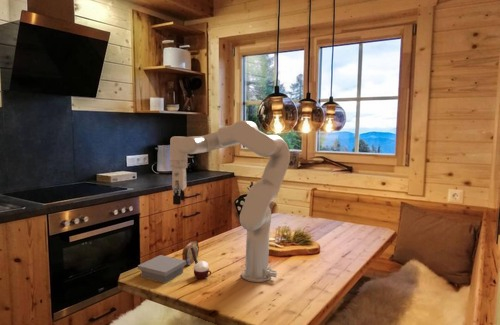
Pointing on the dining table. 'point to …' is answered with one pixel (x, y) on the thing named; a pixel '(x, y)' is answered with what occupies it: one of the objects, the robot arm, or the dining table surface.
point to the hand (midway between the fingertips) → (178, 202)
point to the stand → (162, 268)
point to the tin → (190, 252)
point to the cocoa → (200, 267)
